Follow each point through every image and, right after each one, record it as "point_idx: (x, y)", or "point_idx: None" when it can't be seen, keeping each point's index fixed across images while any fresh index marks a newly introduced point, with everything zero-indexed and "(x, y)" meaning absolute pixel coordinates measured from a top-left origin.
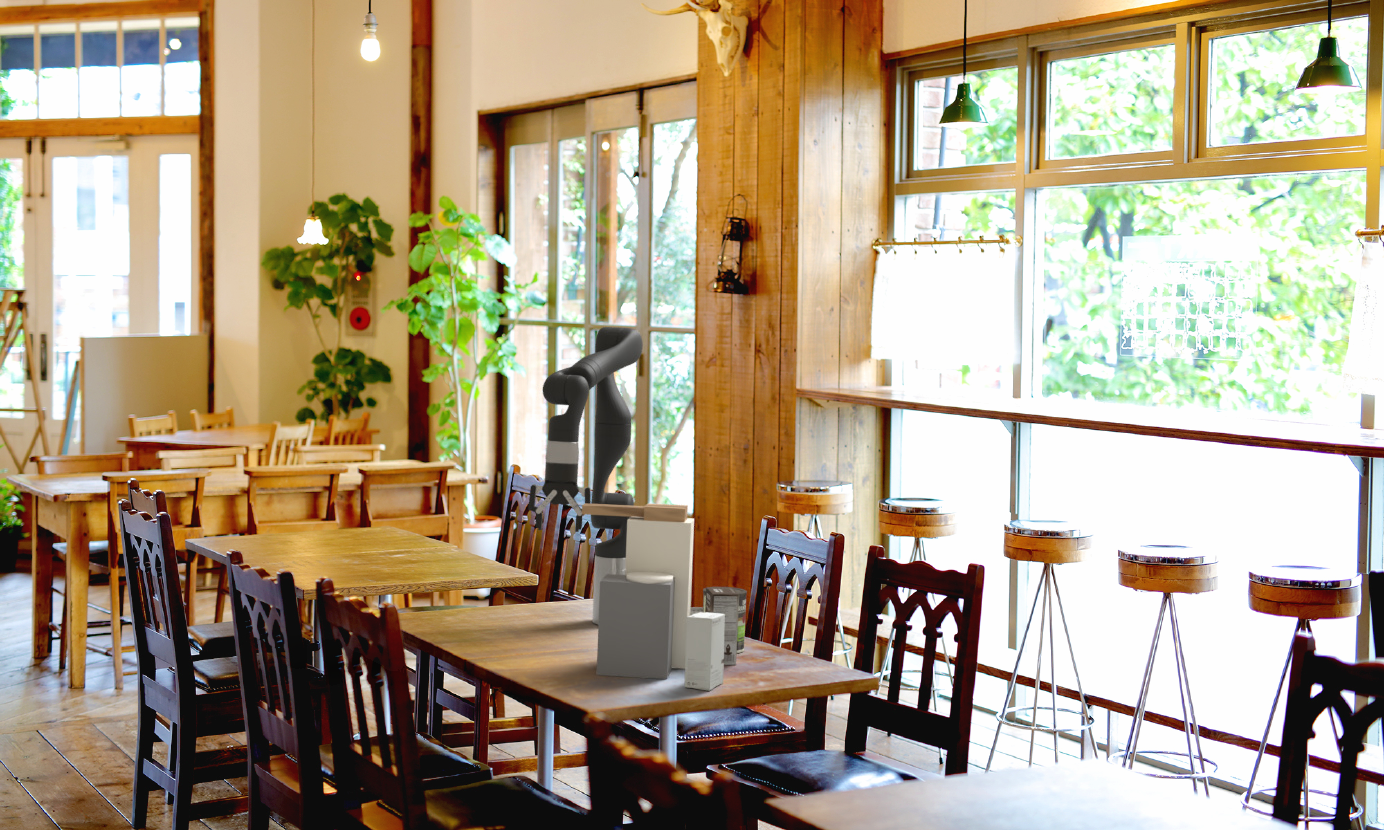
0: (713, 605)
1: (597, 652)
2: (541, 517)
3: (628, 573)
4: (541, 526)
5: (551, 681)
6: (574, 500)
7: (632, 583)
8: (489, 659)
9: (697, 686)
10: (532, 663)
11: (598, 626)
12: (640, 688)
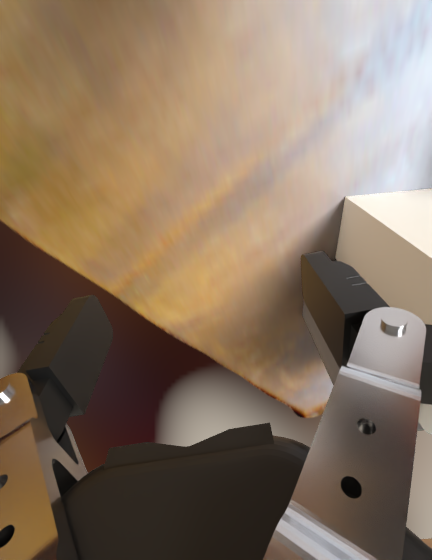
0: None
1: (311, 335)
2: (90, 395)
3: (429, 407)
4: (105, 339)
5: (253, 352)
6: (397, 461)
7: (420, 429)
8: (141, 286)
9: None
10: (207, 288)
11: (324, 364)
12: None
